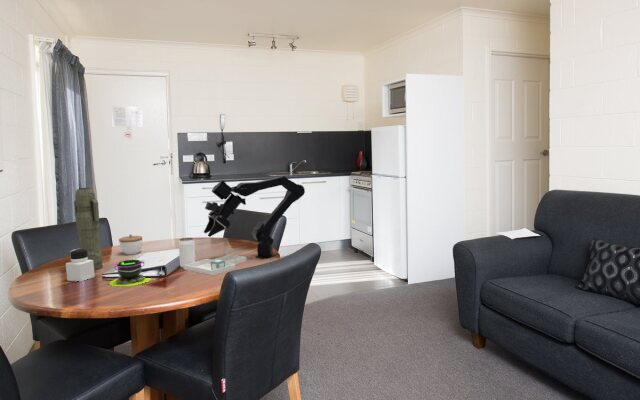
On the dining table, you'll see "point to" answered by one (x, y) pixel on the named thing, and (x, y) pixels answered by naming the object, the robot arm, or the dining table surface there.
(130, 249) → the lidded jar
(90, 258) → the thermos
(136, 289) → the dining table surface
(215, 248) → the dining table surface
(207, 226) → the robot arm
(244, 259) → the small tray
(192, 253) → the can
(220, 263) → the letter cube
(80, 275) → the medicine bottle
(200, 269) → the long tray
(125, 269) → the toy cauldron
